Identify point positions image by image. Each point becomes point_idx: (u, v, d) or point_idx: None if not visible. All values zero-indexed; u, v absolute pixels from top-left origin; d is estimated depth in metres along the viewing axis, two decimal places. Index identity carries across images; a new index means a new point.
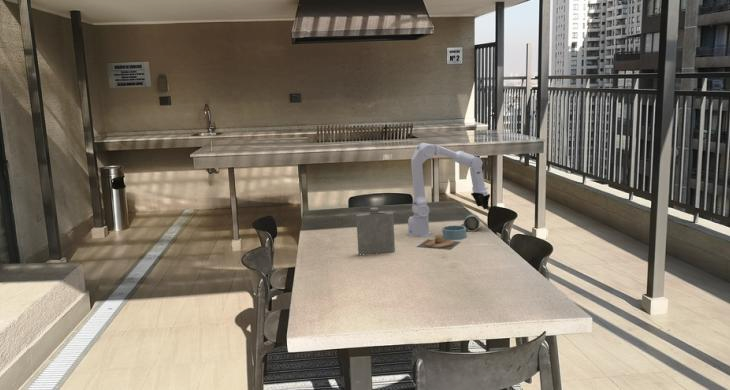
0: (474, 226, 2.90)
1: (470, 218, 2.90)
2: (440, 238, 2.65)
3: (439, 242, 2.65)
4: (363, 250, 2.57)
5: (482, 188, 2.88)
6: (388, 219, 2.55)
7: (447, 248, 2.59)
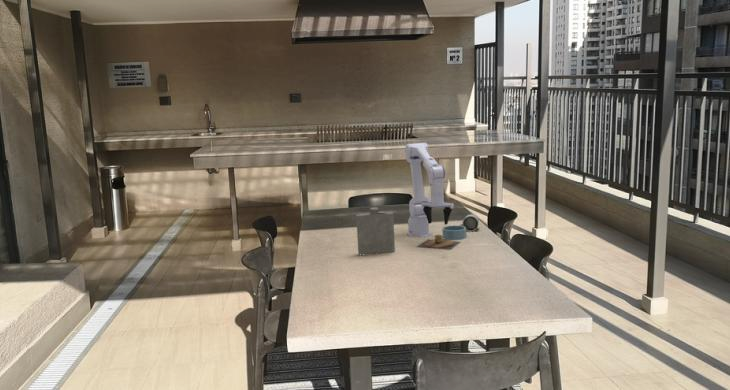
0: (473, 226, 2.90)
1: (469, 218, 2.90)
2: (440, 238, 2.65)
3: (439, 242, 2.65)
4: (363, 250, 2.57)
5: None
6: (388, 219, 2.55)
7: (447, 248, 2.59)
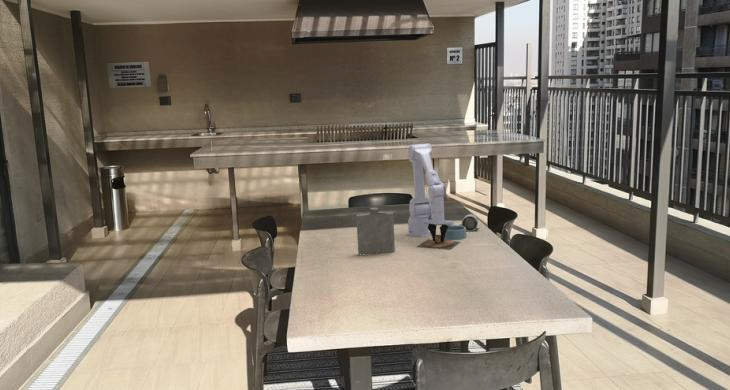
0: (472, 226, 2.90)
1: (468, 218, 2.90)
2: (440, 238, 2.65)
3: (439, 242, 2.65)
4: (363, 250, 2.57)
5: None
6: (388, 219, 2.55)
7: (447, 248, 2.59)
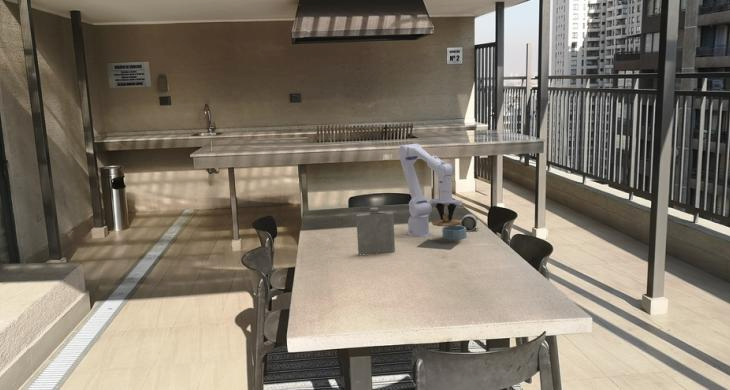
0: (471, 226, 2.90)
1: (467, 218, 2.90)
2: (448, 217, 2.70)
3: (447, 221, 2.70)
4: (363, 250, 2.57)
5: None
6: (388, 219, 2.55)
7: (447, 248, 2.59)
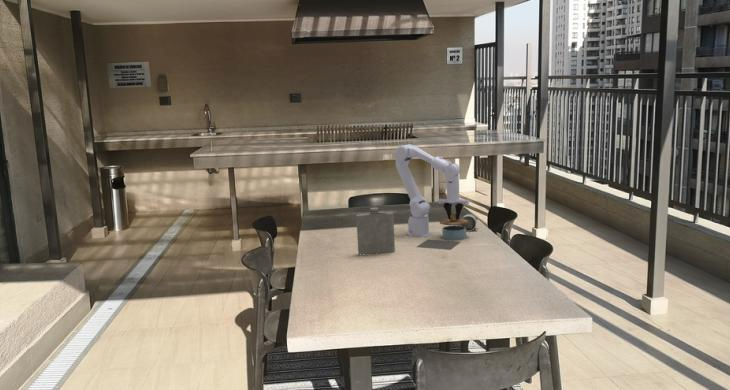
0: (471, 226, 2.90)
1: (467, 218, 2.90)
2: (455, 216, 2.76)
3: (454, 220, 2.76)
4: (363, 250, 2.57)
5: (447, 198, 2.77)
6: (388, 219, 2.55)
7: (447, 248, 2.59)
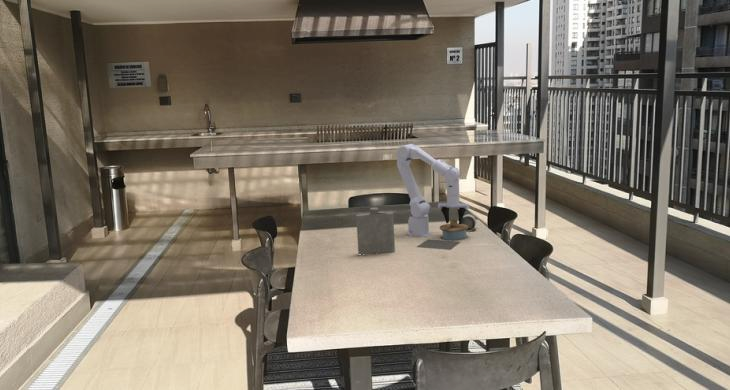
0: (470, 226, 2.90)
1: (466, 218, 2.90)
2: (455, 222, 2.76)
3: (454, 226, 2.76)
4: (363, 250, 2.57)
5: (447, 202, 2.77)
6: (388, 219, 2.55)
7: (447, 248, 2.59)
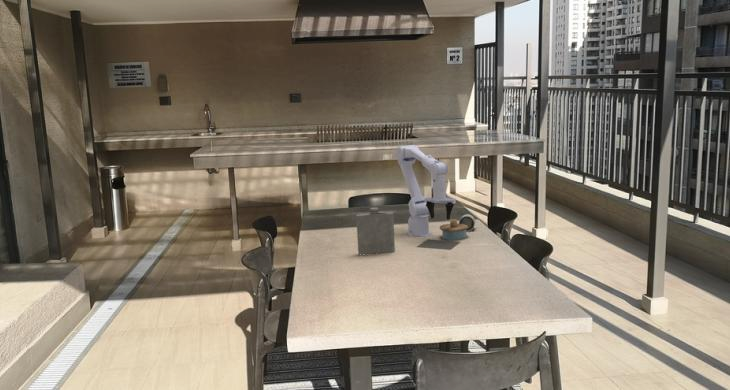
0: (469, 226, 2.90)
1: (465, 218, 2.90)
2: (455, 222, 2.76)
3: (454, 226, 2.76)
4: (363, 250, 2.57)
5: None
6: (388, 219, 2.55)
7: (447, 248, 2.59)
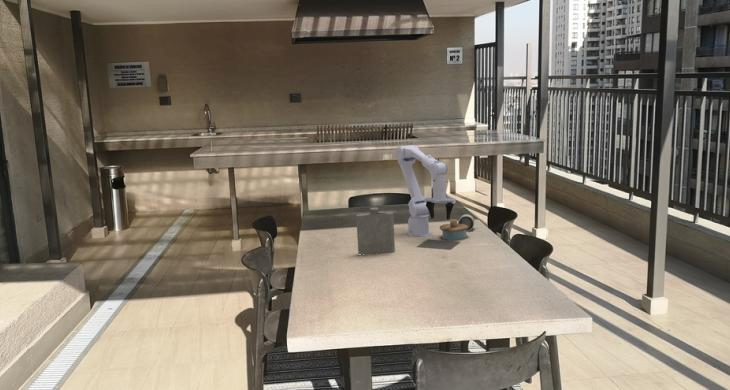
0: (468, 226, 2.90)
1: (464, 218, 2.90)
2: (455, 222, 2.76)
3: (454, 226, 2.76)
4: (363, 250, 2.57)
5: (433, 197, 2.72)
6: (388, 219, 2.55)
7: (447, 248, 2.59)
